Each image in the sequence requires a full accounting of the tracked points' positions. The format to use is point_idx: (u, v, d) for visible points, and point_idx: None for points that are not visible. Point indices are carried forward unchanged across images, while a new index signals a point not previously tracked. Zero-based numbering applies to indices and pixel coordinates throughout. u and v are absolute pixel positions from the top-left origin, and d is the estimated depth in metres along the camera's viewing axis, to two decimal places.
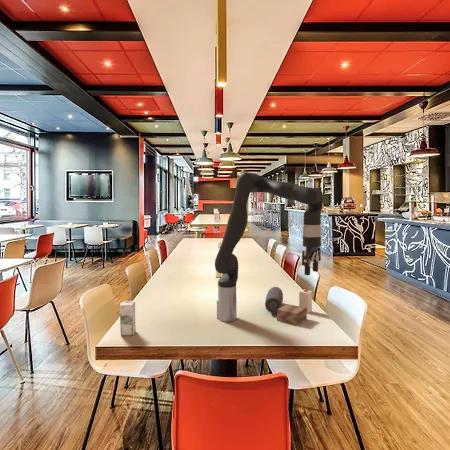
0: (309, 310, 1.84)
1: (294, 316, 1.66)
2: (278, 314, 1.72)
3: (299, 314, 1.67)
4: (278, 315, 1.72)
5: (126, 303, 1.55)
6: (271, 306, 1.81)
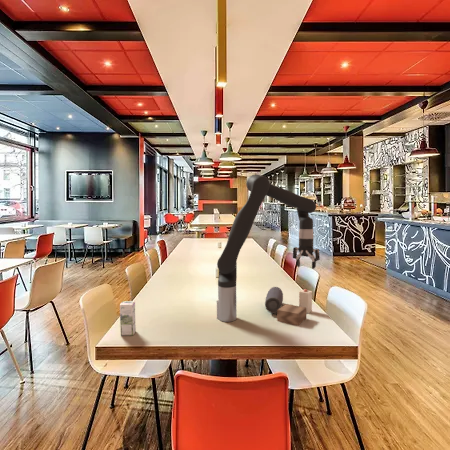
0: (309, 310, 1.84)
1: (295, 316, 1.66)
2: (278, 314, 1.71)
3: (300, 314, 1.67)
4: (278, 316, 1.71)
5: (126, 303, 1.55)
6: (271, 306, 1.81)
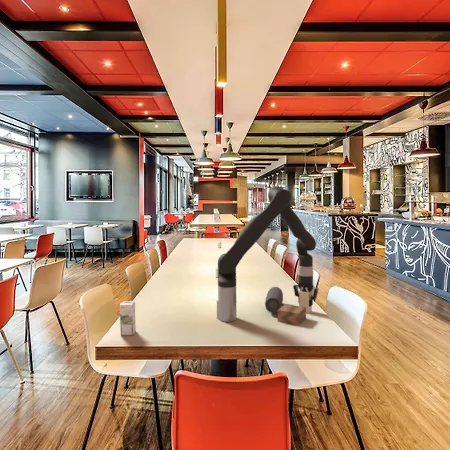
0: (309, 310, 1.84)
1: (296, 316, 1.66)
2: (279, 315, 1.71)
3: (300, 314, 1.68)
4: (279, 316, 1.71)
5: (126, 303, 1.55)
6: (271, 306, 1.81)
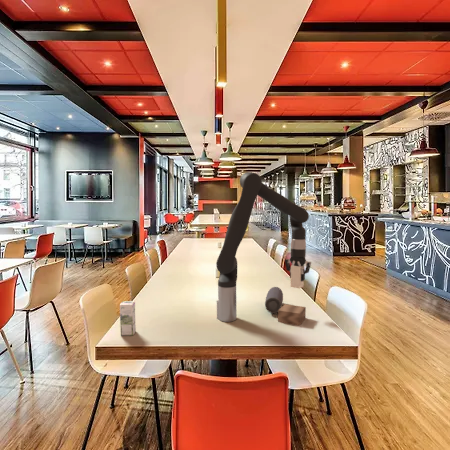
0: (301, 285, 1.77)
1: (296, 316, 1.66)
2: (279, 315, 1.70)
3: (301, 313, 1.68)
4: (279, 316, 1.71)
5: (126, 303, 1.55)
6: (271, 306, 1.81)
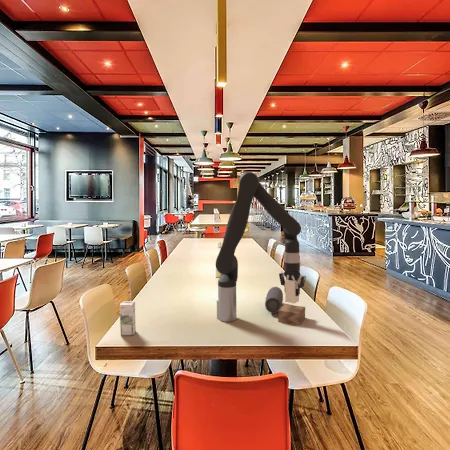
0: (296, 300, 1.71)
1: (297, 316, 1.67)
2: (280, 315, 1.70)
3: (301, 313, 1.68)
4: (279, 316, 1.70)
5: (126, 303, 1.55)
6: (271, 306, 1.81)
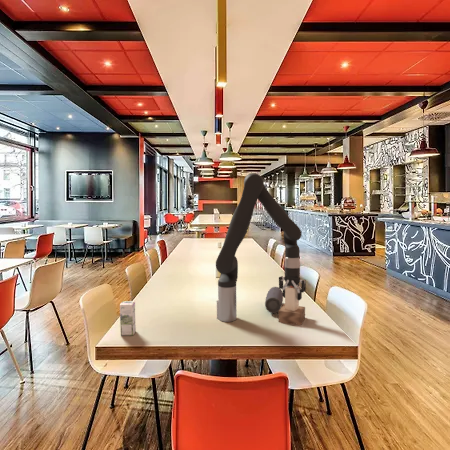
0: (295, 307, 1.71)
1: (297, 316, 1.67)
2: (280, 315, 1.70)
3: (301, 313, 1.68)
4: (280, 317, 1.70)
5: (126, 303, 1.55)
6: (271, 306, 1.81)
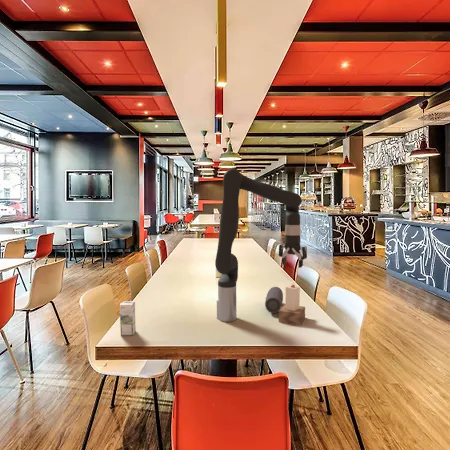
0: (296, 307, 1.71)
1: (298, 316, 1.67)
2: (280, 315, 1.70)
3: (302, 313, 1.68)
4: (280, 317, 1.70)
5: (126, 303, 1.55)
6: (271, 306, 1.81)
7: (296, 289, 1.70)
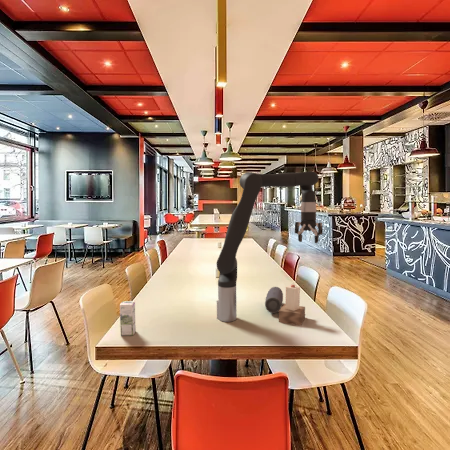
0: (296, 307, 1.71)
1: (298, 316, 1.67)
2: (280, 315, 1.70)
3: (302, 313, 1.68)
4: (280, 317, 1.70)
5: (126, 303, 1.55)
6: (271, 306, 1.81)
7: (296, 289, 1.70)
